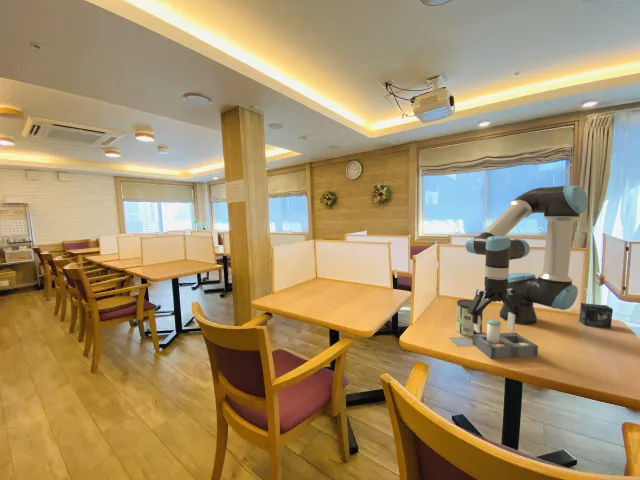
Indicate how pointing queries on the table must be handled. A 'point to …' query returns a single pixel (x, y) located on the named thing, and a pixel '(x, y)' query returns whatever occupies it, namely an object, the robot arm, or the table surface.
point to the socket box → (506, 346)
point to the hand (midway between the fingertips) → (493, 330)
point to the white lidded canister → (493, 331)
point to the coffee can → (466, 319)
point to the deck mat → (461, 341)
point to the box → (596, 315)
